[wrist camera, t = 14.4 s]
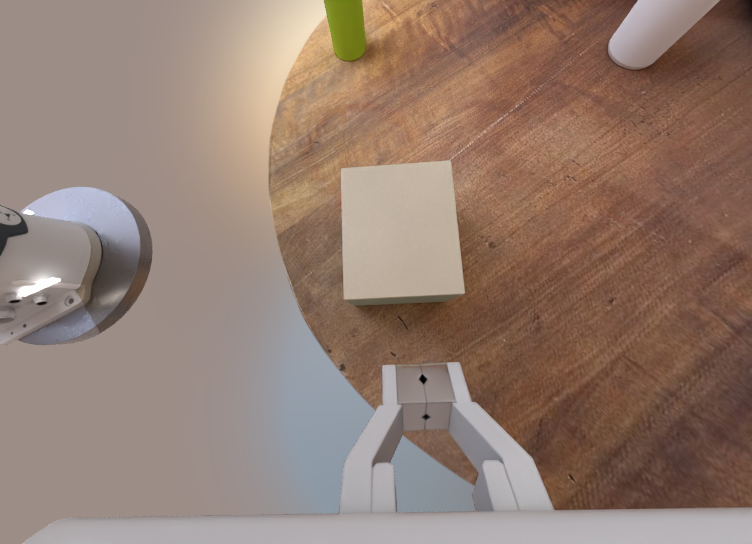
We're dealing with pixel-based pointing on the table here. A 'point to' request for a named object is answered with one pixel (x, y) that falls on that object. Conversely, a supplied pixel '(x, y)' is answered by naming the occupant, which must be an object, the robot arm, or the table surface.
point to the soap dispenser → (346, 28)
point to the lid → (400, 231)
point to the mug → (654, 30)
